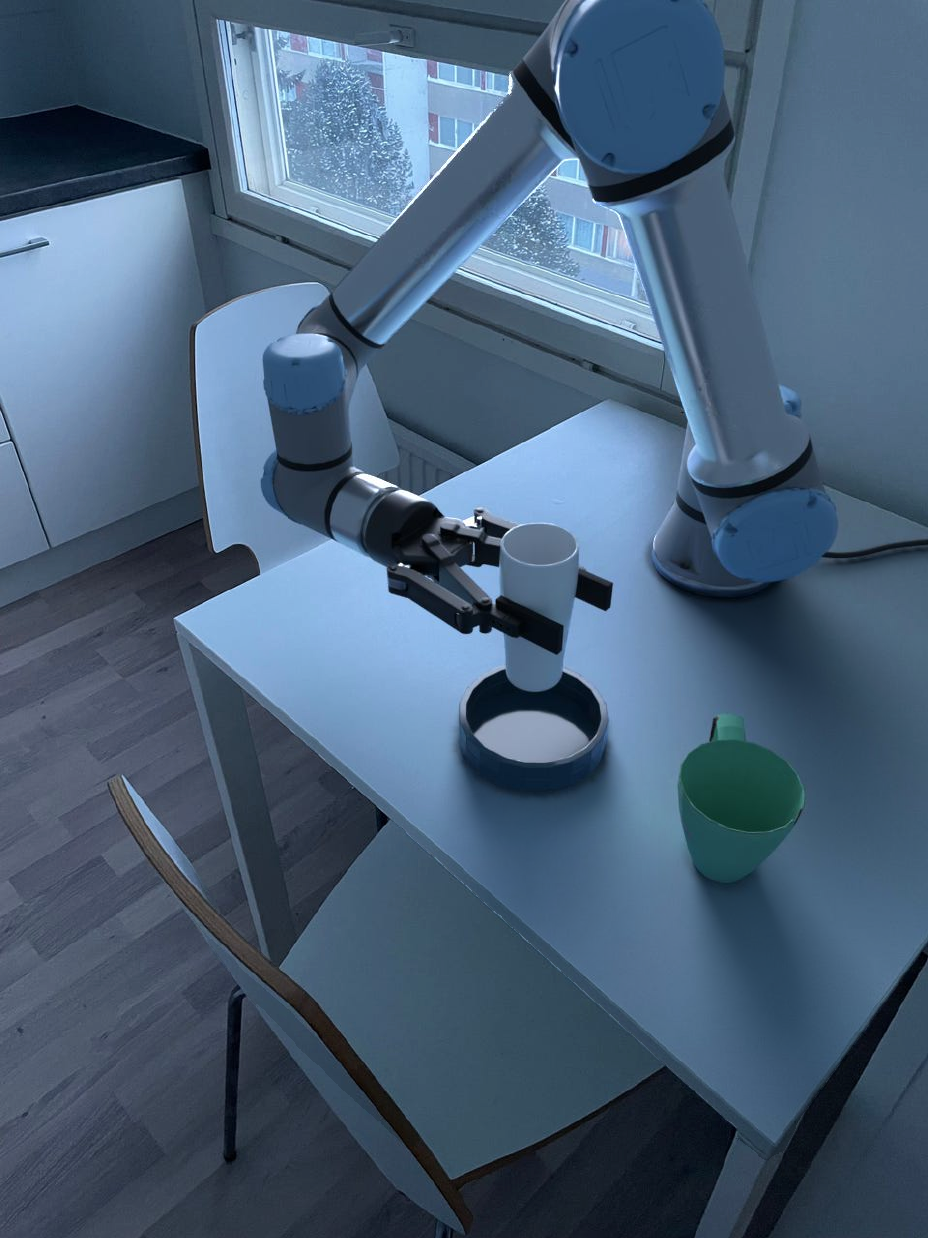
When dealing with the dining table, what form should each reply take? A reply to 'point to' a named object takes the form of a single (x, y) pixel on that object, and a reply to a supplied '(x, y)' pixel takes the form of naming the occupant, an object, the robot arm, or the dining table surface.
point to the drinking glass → (538, 596)
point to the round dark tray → (532, 731)
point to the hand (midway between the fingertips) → (585, 618)
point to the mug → (735, 801)
